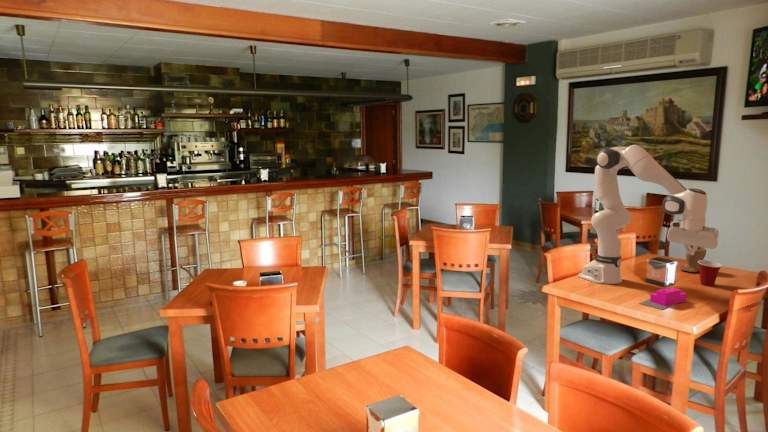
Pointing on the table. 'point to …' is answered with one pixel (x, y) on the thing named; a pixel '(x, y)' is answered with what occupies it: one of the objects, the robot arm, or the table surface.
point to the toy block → (668, 297)
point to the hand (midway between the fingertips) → (690, 254)
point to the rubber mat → (654, 305)
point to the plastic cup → (708, 272)
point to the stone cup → (693, 259)
